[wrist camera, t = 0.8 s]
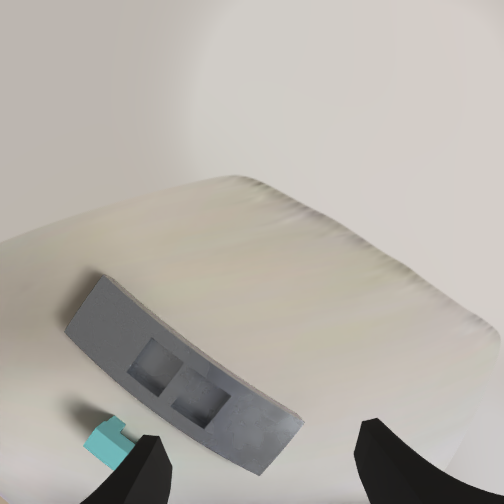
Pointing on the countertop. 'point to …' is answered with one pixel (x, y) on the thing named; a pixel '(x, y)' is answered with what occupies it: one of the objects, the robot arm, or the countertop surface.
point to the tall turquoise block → (109, 443)
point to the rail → (180, 379)
